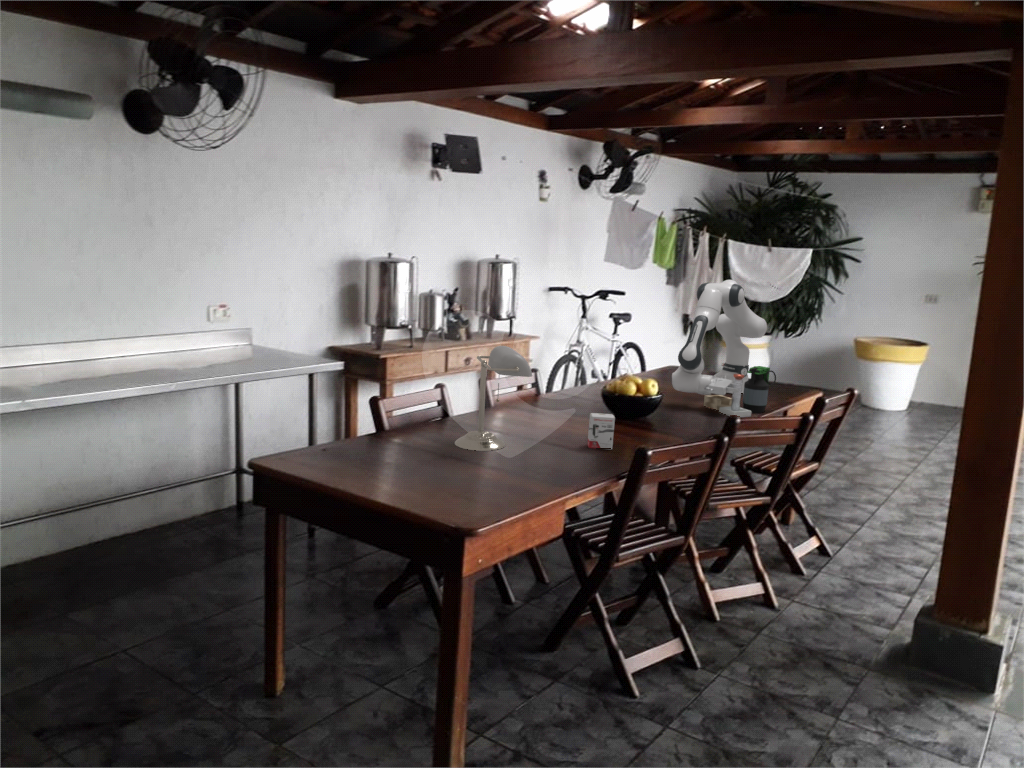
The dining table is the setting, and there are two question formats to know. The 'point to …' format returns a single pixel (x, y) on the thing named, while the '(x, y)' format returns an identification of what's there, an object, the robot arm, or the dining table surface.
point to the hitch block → (717, 401)
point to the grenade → (757, 389)
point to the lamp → (505, 365)
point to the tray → (741, 412)
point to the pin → (737, 396)
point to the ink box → (601, 430)
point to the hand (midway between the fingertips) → (739, 389)
